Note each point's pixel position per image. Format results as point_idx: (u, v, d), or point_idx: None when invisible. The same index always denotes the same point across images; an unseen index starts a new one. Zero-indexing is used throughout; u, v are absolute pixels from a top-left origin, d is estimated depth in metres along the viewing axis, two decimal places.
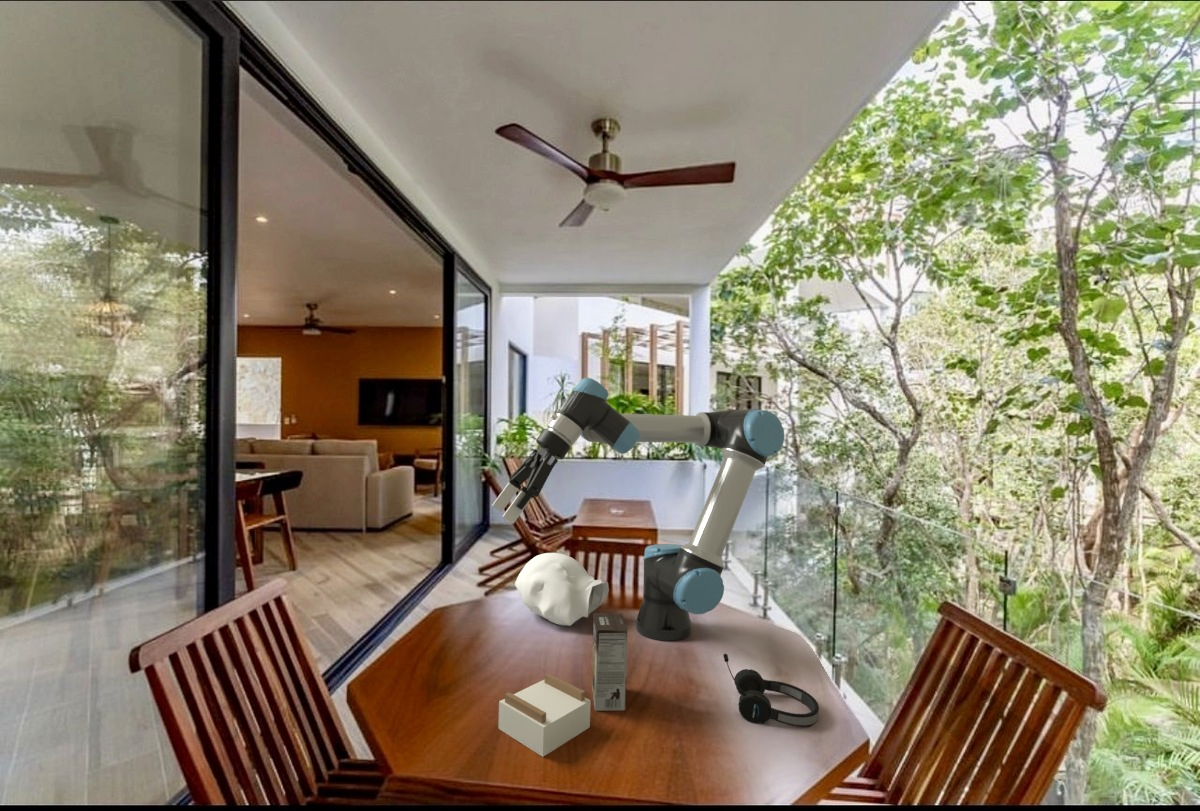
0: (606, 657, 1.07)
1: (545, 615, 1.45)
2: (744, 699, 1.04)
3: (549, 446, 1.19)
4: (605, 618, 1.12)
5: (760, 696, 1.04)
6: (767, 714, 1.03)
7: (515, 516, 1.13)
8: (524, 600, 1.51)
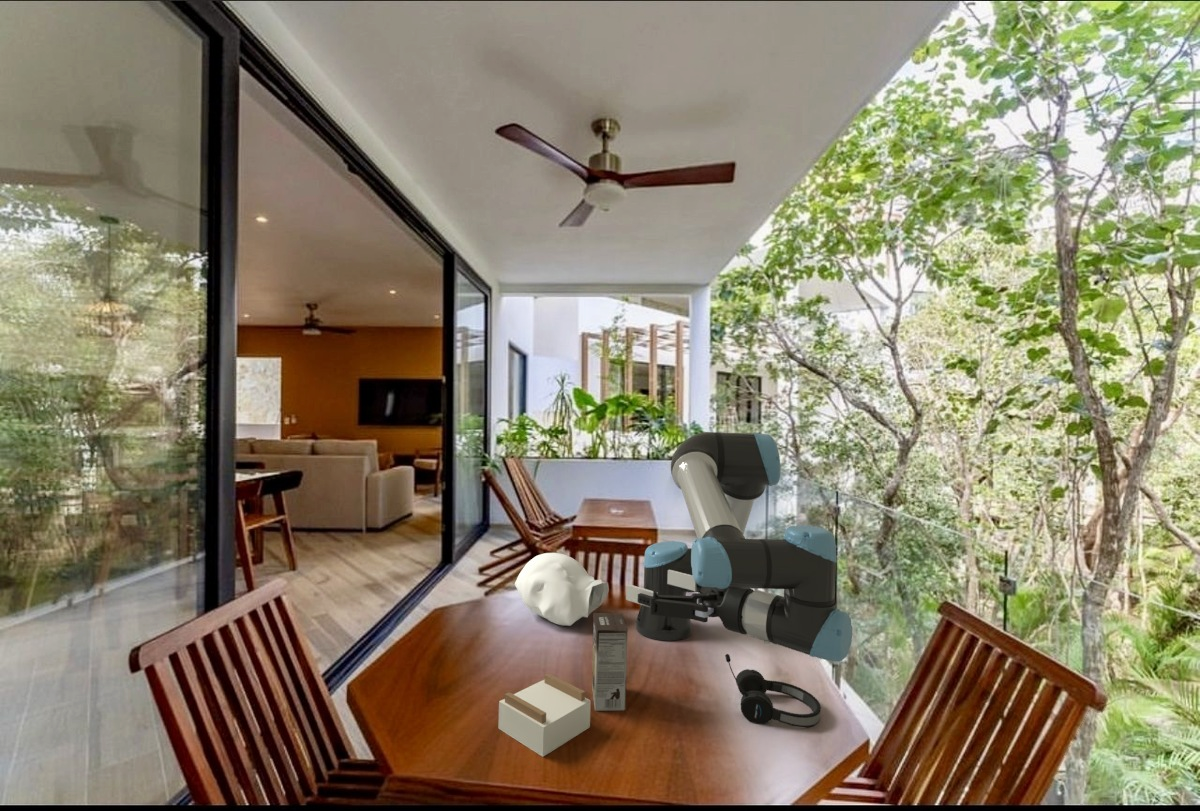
0: (606, 657, 1.07)
1: (545, 615, 1.45)
2: (746, 699, 1.04)
3: None
4: (605, 618, 1.12)
5: (762, 696, 1.04)
6: (769, 714, 1.03)
7: None
8: (524, 600, 1.51)
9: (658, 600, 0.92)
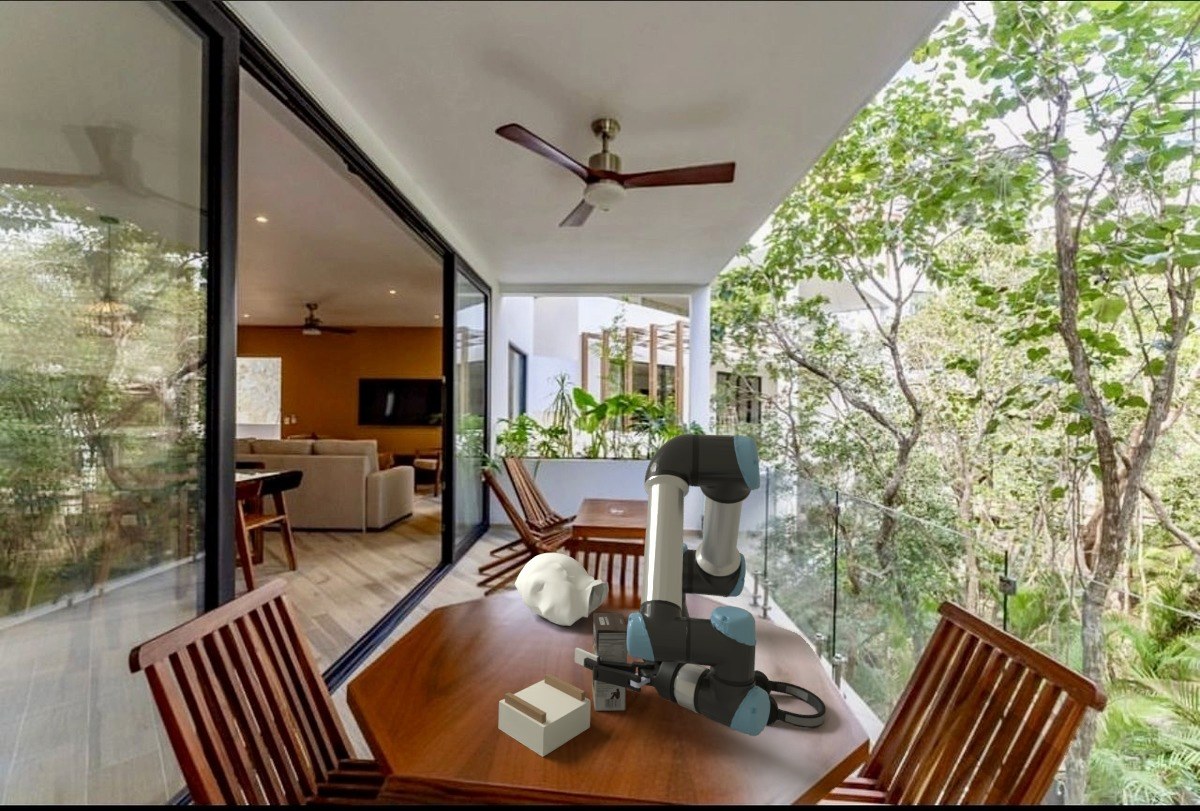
0: (606, 657, 1.07)
1: (545, 615, 1.45)
2: None
3: None
4: (605, 618, 1.12)
5: None
6: (774, 715, 1.03)
7: None
8: (524, 600, 1.51)
9: (600, 667, 1.02)
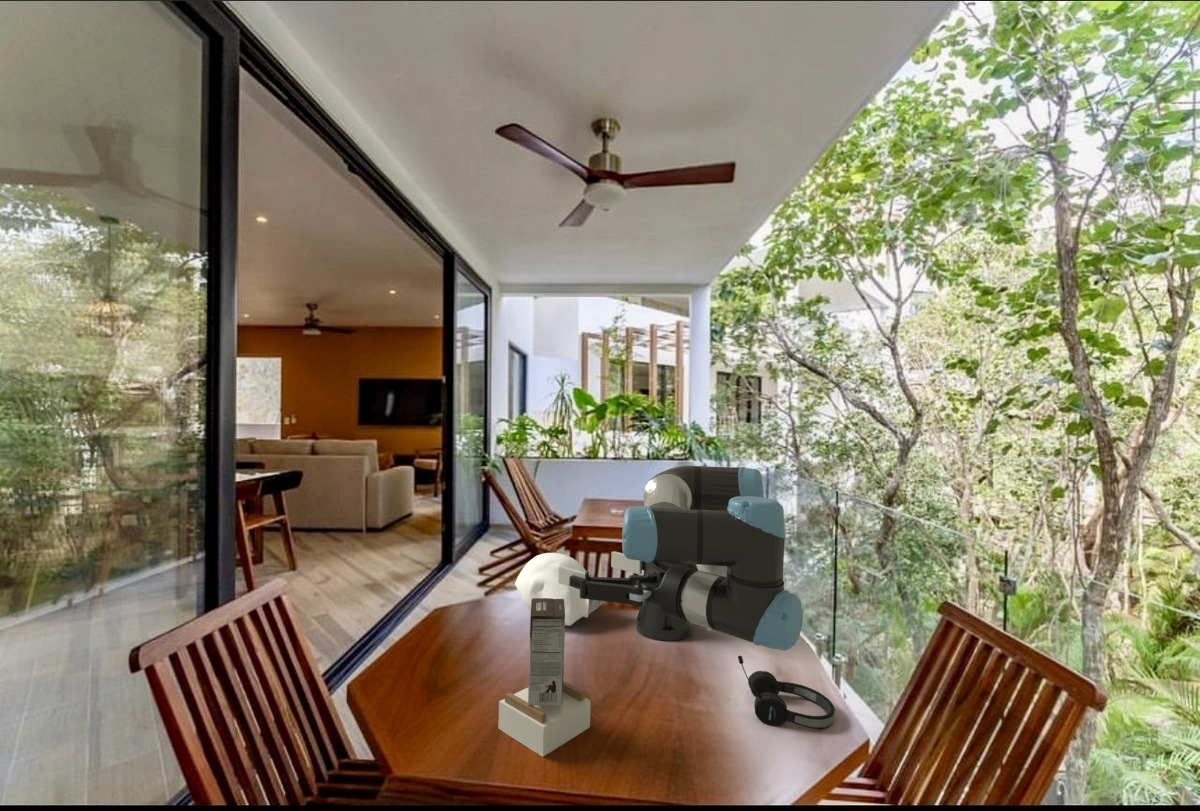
0: (541, 646, 0.96)
1: None
2: (760, 701, 1.04)
3: None
4: (543, 603, 1.02)
5: (776, 698, 1.04)
6: (783, 716, 1.02)
7: None
8: (524, 600, 1.51)
9: (589, 582, 0.82)
